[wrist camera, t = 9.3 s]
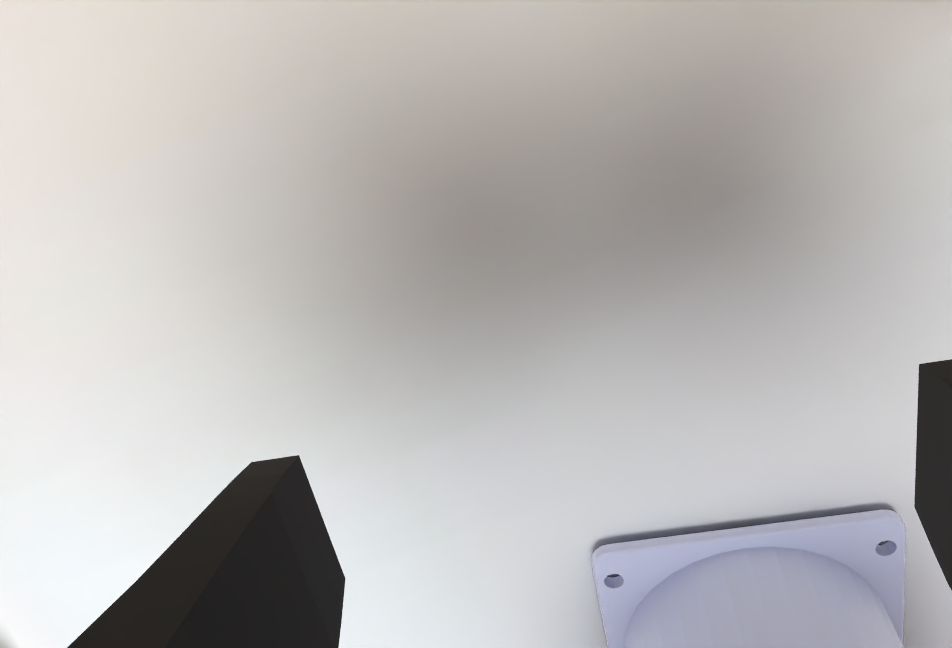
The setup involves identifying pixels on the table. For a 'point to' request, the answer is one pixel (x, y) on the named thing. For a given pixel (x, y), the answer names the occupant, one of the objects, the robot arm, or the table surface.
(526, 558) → the table surface
